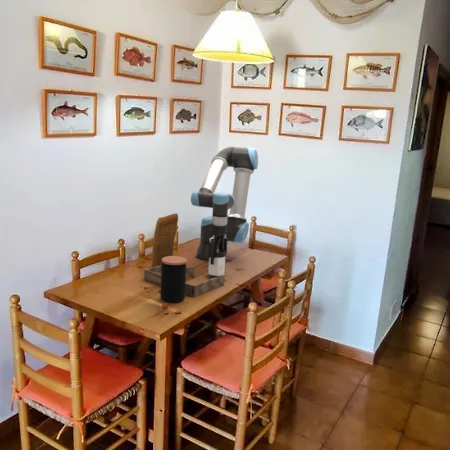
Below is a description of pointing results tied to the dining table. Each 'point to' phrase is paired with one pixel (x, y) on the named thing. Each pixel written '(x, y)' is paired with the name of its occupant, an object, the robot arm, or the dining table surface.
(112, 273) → the dining table surface
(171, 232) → the pancake mix bag
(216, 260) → the jar
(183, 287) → the coffee jar
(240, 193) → the robot arm
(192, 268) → the lane organizer
